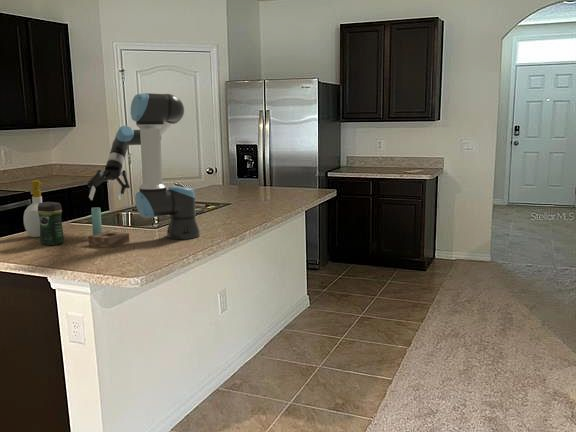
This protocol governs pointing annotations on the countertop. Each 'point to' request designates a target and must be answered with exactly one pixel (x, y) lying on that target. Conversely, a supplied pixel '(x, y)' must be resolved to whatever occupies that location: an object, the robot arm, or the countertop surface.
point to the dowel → (96, 220)
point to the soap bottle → (33, 212)
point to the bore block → (108, 239)
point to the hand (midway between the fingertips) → (104, 198)
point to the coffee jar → (50, 223)
